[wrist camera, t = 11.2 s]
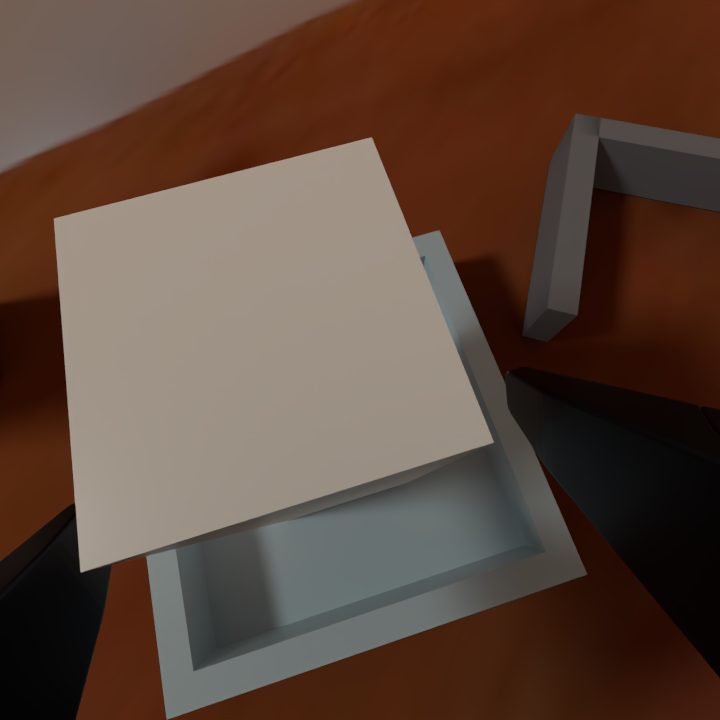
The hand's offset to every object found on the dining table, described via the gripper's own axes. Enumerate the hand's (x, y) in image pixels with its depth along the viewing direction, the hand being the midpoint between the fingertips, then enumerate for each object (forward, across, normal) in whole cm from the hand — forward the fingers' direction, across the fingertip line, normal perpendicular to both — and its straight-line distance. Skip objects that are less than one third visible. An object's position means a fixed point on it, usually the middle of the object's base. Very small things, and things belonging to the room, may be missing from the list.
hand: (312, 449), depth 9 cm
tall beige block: (+7, 0, +5) cm, 9 cm away
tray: (+8, 0, +6) cm, 10 cm away
